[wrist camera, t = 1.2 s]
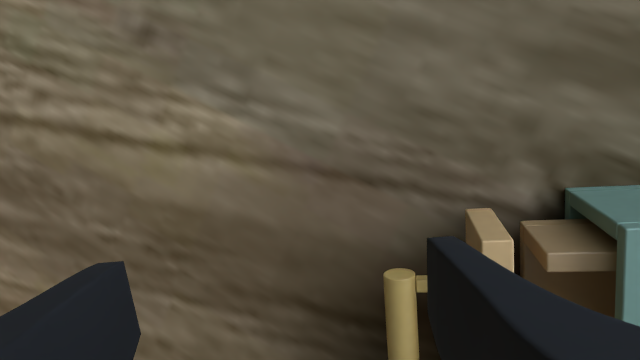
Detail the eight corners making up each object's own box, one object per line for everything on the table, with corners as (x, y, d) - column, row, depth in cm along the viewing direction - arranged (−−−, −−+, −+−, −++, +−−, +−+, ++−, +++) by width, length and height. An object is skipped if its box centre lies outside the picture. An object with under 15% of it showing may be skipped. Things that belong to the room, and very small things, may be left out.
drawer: (393, 399, 27) (391, 469, 22) (382, 211, 25) (378, 243, 20) (741, 407, 24) (826, 489, 19) (759, 197, 22) (858, 231, 17)
